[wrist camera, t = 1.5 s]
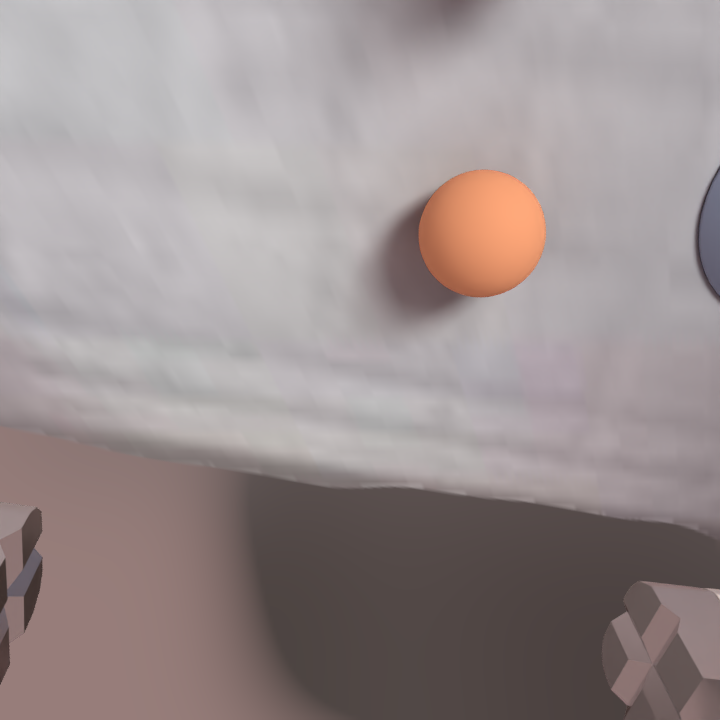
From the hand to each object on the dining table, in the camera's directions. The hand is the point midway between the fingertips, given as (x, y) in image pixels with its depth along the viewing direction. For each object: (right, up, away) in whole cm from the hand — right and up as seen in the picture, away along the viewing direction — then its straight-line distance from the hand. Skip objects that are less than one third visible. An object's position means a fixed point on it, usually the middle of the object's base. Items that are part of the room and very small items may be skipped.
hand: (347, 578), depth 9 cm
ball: (+6, +8, +21) cm, 23 cm away
